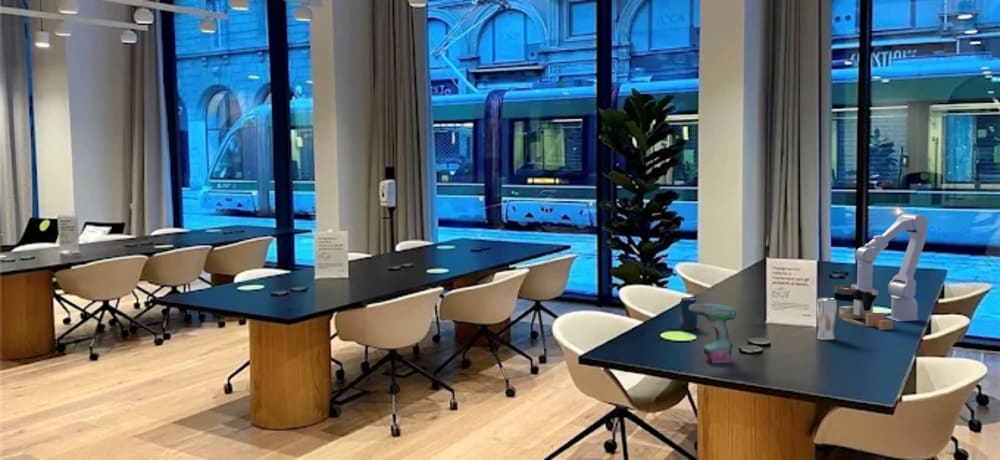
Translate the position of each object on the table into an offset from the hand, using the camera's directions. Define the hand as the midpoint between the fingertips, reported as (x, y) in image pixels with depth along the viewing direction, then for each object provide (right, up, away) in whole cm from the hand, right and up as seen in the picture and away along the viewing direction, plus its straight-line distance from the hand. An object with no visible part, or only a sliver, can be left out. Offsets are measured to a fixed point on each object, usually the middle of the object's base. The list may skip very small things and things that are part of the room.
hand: (863, 309), depth 327 cm
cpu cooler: (+14, 0, +50) cm, 52 cm away
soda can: (-73, -7, -4) cm, 73 cm away
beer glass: (-26, -9, -25) cm, 37 cm away
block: (0, -2, 0) cm, 2 cm away
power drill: (-76, -12, -53) cm, 94 cm away
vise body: (0, -5, +2) cm, 5 cm away
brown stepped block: (+2, -6, -10) cm, 12 cm away
